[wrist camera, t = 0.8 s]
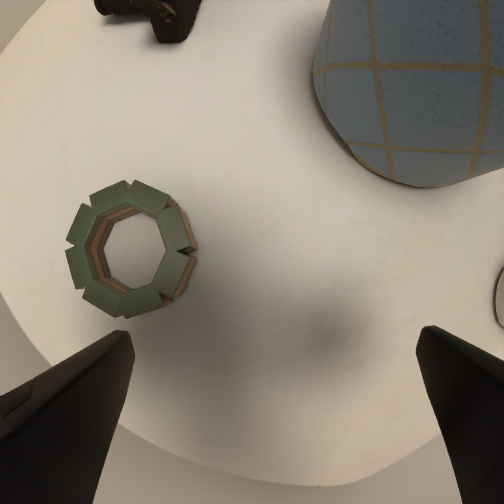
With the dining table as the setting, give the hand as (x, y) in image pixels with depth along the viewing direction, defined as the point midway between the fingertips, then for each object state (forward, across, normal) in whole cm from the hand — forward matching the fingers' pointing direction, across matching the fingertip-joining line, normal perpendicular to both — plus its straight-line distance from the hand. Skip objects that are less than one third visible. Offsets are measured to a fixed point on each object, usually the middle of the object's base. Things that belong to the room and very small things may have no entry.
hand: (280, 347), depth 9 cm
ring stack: (+13, +9, +2) cm, 16 cm away
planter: (+20, -13, -10) cm, 26 cm away
